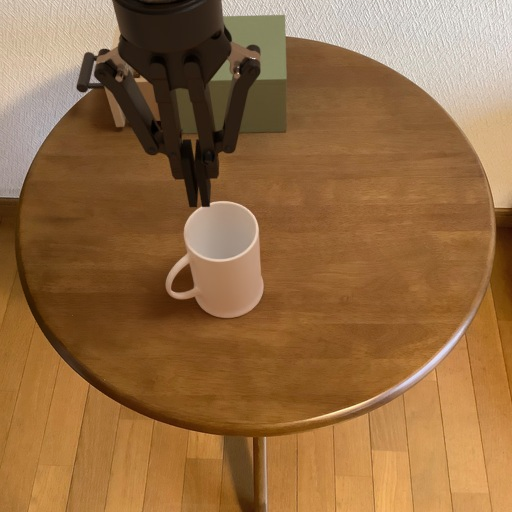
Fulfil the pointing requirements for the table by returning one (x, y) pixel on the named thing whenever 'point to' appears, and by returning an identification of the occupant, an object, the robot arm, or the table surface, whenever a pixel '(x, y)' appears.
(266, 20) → the cabinet
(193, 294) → the mug
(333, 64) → the table surface
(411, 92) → the table surface
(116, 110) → the drawer
